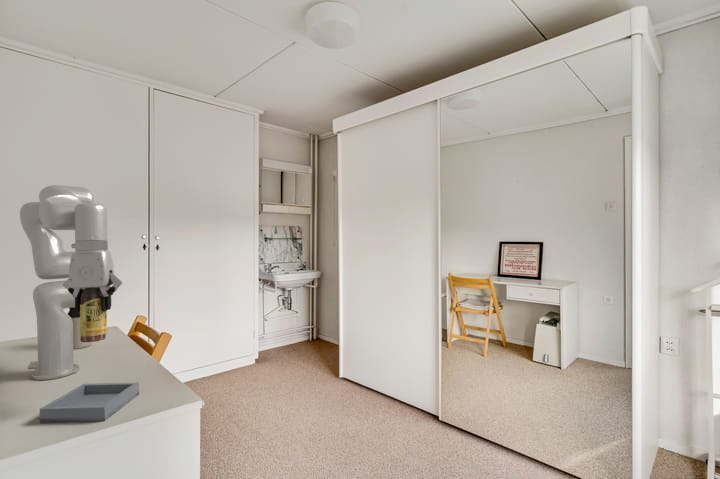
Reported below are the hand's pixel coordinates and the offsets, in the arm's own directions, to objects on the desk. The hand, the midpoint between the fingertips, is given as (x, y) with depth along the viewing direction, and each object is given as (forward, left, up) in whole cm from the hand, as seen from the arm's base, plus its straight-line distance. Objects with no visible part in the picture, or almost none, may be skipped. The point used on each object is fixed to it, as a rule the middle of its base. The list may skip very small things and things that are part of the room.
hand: (93, 309), depth 107 cm
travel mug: (-42, +55, -26) cm, 74 cm away
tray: (+2, -4, -26) cm, 26 cm away
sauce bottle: (0, 0, -9) cm, 9 cm away
